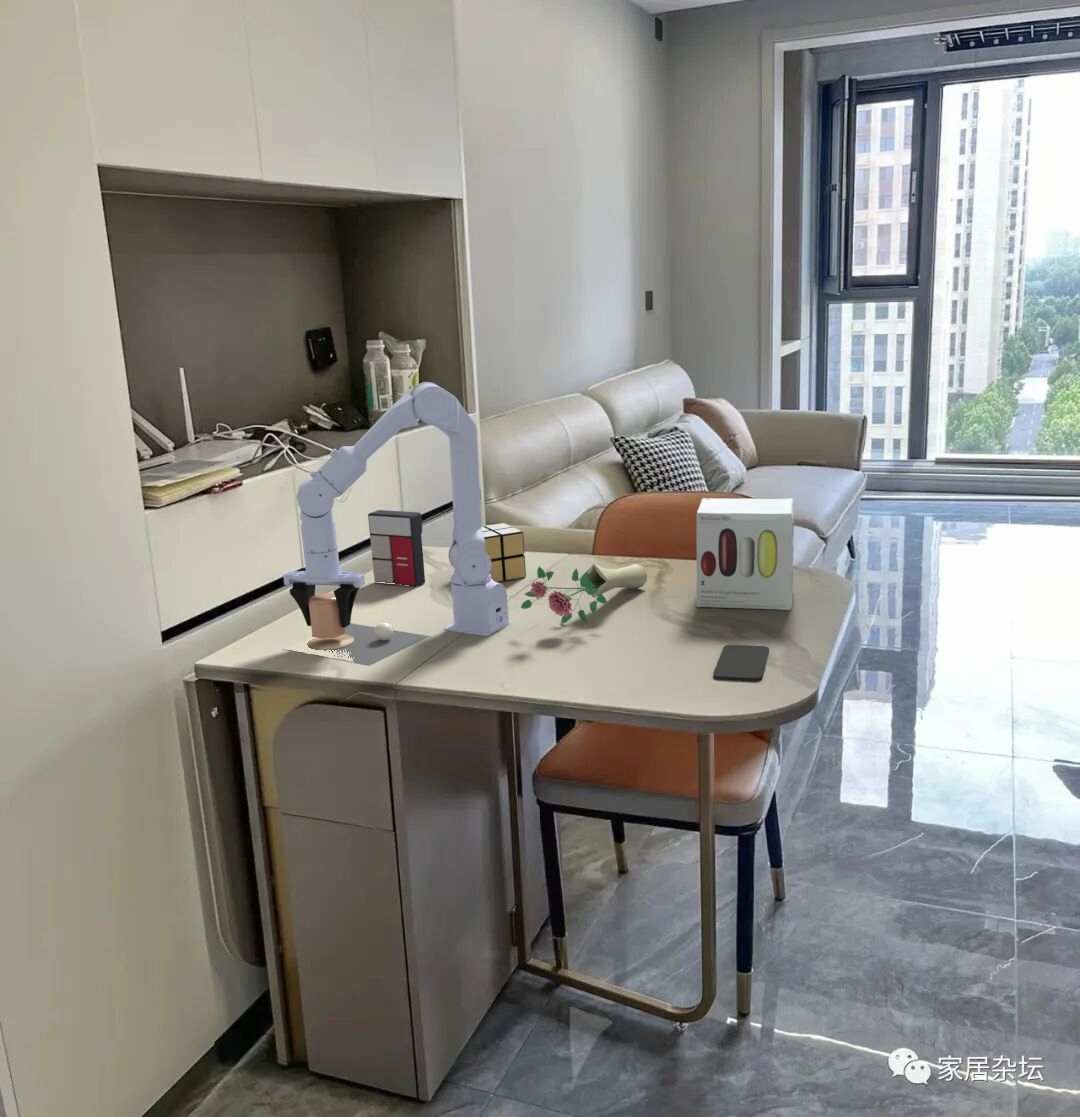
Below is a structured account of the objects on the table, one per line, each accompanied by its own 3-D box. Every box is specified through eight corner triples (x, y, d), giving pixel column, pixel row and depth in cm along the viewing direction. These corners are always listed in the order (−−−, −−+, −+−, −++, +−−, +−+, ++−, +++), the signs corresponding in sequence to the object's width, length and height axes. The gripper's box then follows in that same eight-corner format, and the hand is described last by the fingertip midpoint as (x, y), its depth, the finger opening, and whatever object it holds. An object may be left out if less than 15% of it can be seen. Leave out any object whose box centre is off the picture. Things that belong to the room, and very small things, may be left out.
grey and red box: (372, 583, 225) (365, 514, 221) (384, 578, 229) (377, 509, 225) (415, 588, 220) (409, 516, 216) (427, 582, 224) (421, 512, 220)
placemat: (429, 638, 188) (429, 635, 188) (369, 667, 175) (369, 665, 175) (344, 624, 199) (343, 622, 199) (281, 651, 186) (281, 649, 186)
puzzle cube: (464, 575, 228) (461, 529, 226) (507, 567, 232) (504, 522, 230) (482, 585, 219) (478, 538, 217) (526, 578, 223) (523, 531, 221)
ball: (397, 638, 188) (395, 621, 187) (385, 644, 185) (384, 626, 184) (383, 636, 190) (381, 619, 189) (371, 641, 187) (369, 624, 186)
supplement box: (695, 609, 196) (693, 512, 192) (702, 588, 209) (700, 497, 204) (792, 611, 192) (793, 512, 188) (793, 589, 205) (794, 496, 200)
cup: (352, 631, 187) (349, 595, 186) (327, 640, 183) (323, 604, 182) (331, 626, 191) (327, 591, 189) (306, 635, 187) (302, 599, 185)
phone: (770, 646, 174) (761, 678, 160) (770, 650, 174) (761, 683, 160) (724, 644, 176) (711, 676, 162) (724, 649, 176) (711, 681, 162)
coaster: (363, 639, 189) (363, 637, 189) (332, 653, 182) (331, 651, 182) (329, 633, 193) (329, 631, 193) (297, 647, 186) (297, 645, 186)
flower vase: (647, 628, 210) (565, 646, 180) (595, 604, 216) (506, 617, 185) (668, 573, 208) (588, 581, 177) (614, 549, 213) (528, 553, 183)
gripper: (369, 544, 185) (376, 619, 188) (294, 542, 189) (303, 616, 193) (350, 554, 178) (358, 632, 182) (273, 552, 183) (282, 628, 186)
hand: (328, 625), depth 187 cm, fingers closed on cup, 6 cm apart
